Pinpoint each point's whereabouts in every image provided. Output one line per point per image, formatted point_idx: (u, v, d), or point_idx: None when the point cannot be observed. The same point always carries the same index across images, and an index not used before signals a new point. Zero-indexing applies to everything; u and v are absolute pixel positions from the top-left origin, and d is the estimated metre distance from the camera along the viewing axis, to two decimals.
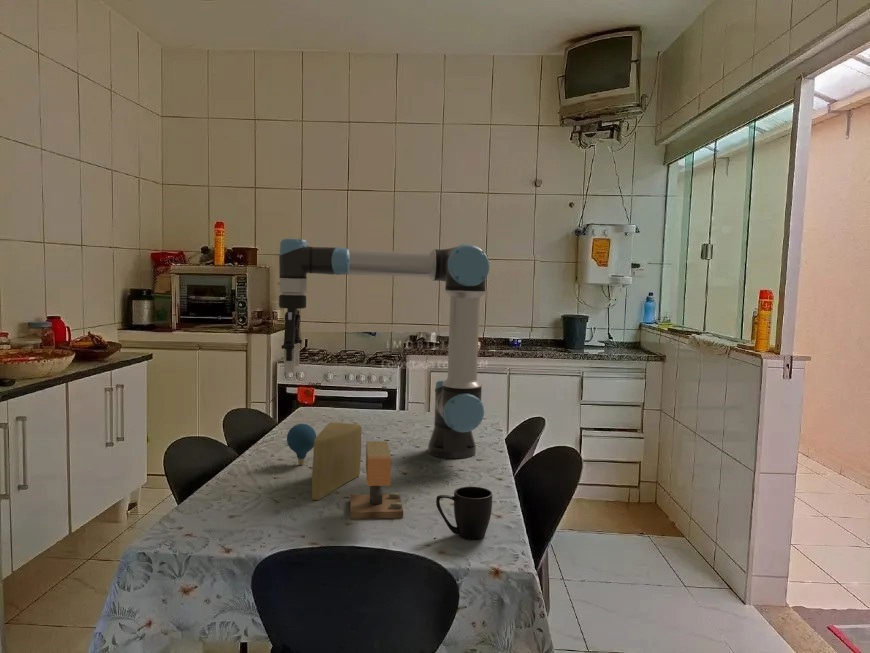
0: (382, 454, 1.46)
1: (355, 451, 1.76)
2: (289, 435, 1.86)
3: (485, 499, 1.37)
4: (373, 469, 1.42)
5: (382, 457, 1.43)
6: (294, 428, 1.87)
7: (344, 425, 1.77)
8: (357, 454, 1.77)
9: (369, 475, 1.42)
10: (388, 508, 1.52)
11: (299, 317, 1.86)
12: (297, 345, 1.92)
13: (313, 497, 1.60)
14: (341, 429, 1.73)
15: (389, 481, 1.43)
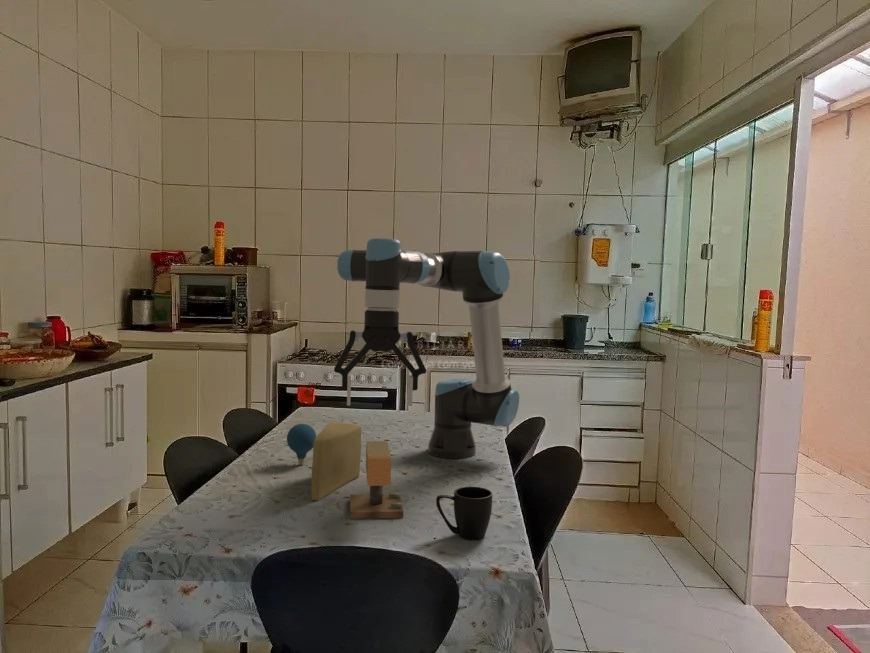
0: (382, 454, 1.46)
1: (354, 451, 1.75)
2: (289, 435, 1.86)
3: (485, 499, 1.37)
4: (373, 469, 1.42)
5: (382, 457, 1.43)
6: (294, 428, 1.87)
7: (344, 425, 1.77)
8: (357, 454, 1.77)
9: (369, 475, 1.42)
10: (388, 508, 1.52)
11: (384, 339, 1.43)
12: (409, 378, 1.46)
13: (312, 497, 1.60)
14: (340, 429, 1.73)
15: (389, 481, 1.43)
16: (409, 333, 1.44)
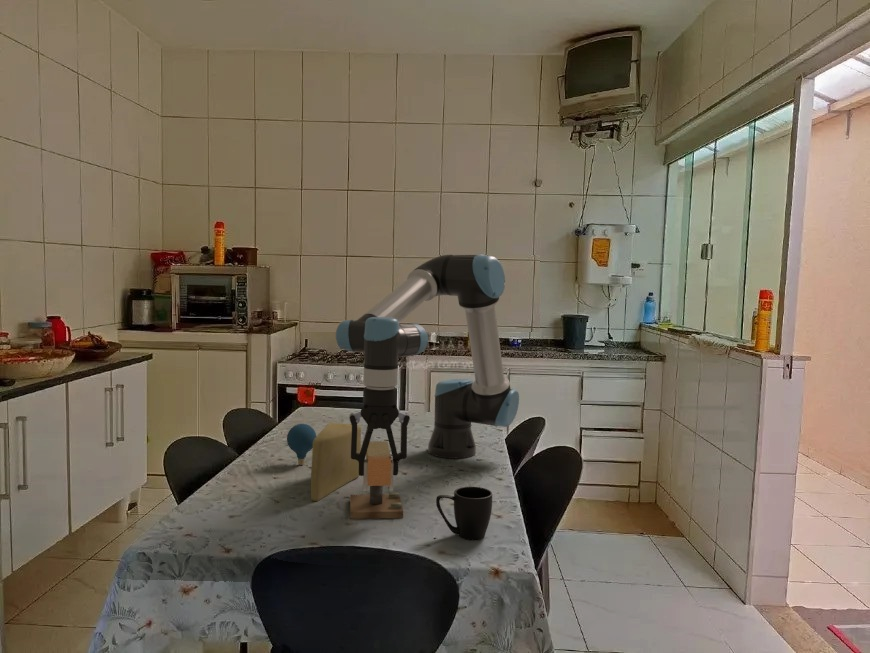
0: (382, 454, 1.46)
1: None
2: (289, 435, 1.86)
3: (485, 499, 1.37)
4: (373, 469, 1.42)
5: (382, 457, 1.43)
6: (294, 428, 1.87)
7: (343, 426, 1.76)
8: None
9: (369, 475, 1.42)
10: (388, 508, 1.52)
11: (383, 416, 1.44)
12: None
13: (312, 498, 1.59)
14: (340, 430, 1.73)
15: (389, 481, 1.43)
16: (407, 417, 1.46)
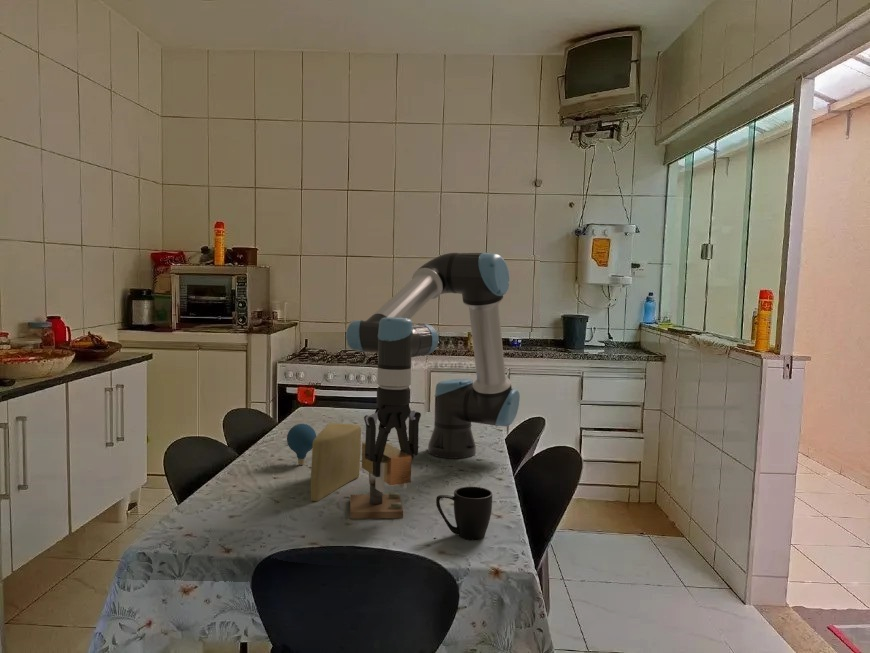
0: (397, 453, 1.47)
1: (354, 452, 1.75)
2: (289, 435, 1.86)
3: (485, 499, 1.37)
4: (396, 468, 1.44)
5: (402, 455, 1.45)
6: (294, 428, 1.87)
7: (343, 426, 1.76)
8: (356, 455, 1.76)
9: (392, 475, 1.43)
10: (388, 508, 1.52)
11: (399, 415, 1.46)
12: None
13: (312, 498, 1.59)
14: (340, 430, 1.72)
15: (409, 478, 1.46)
16: (419, 413, 1.50)
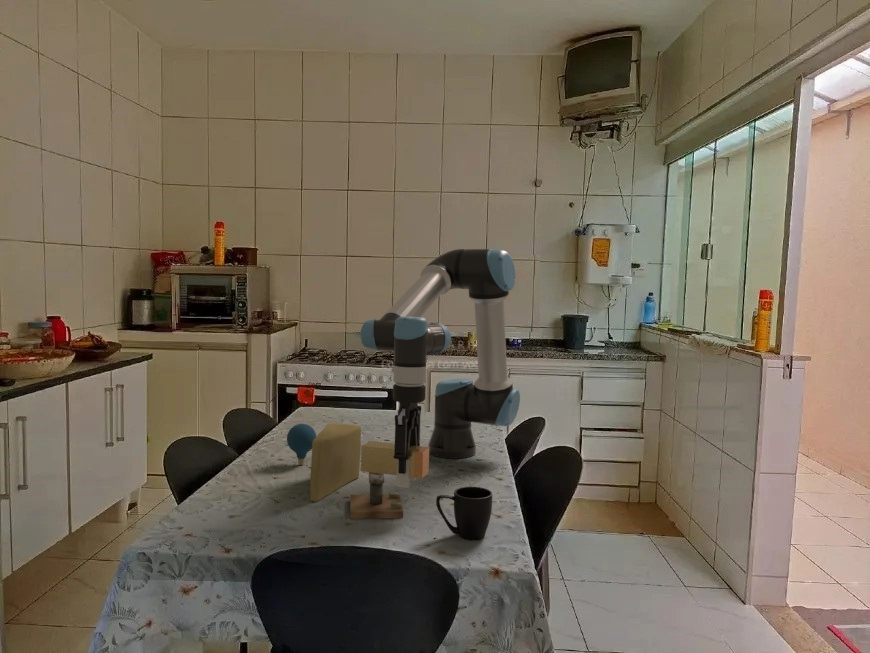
0: (413, 447, 1.53)
1: (354, 452, 1.74)
2: (289, 435, 1.86)
3: (485, 499, 1.37)
4: (424, 461, 1.50)
5: (423, 448, 1.52)
6: (294, 428, 1.87)
7: (343, 426, 1.76)
8: (356, 455, 1.76)
9: (423, 467, 1.49)
10: (388, 508, 1.52)
11: (417, 411, 1.52)
12: None
13: (311, 499, 1.59)
14: (340, 430, 1.72)
15: (428, 468, 1.53)
16: (420, 407, 1.57)
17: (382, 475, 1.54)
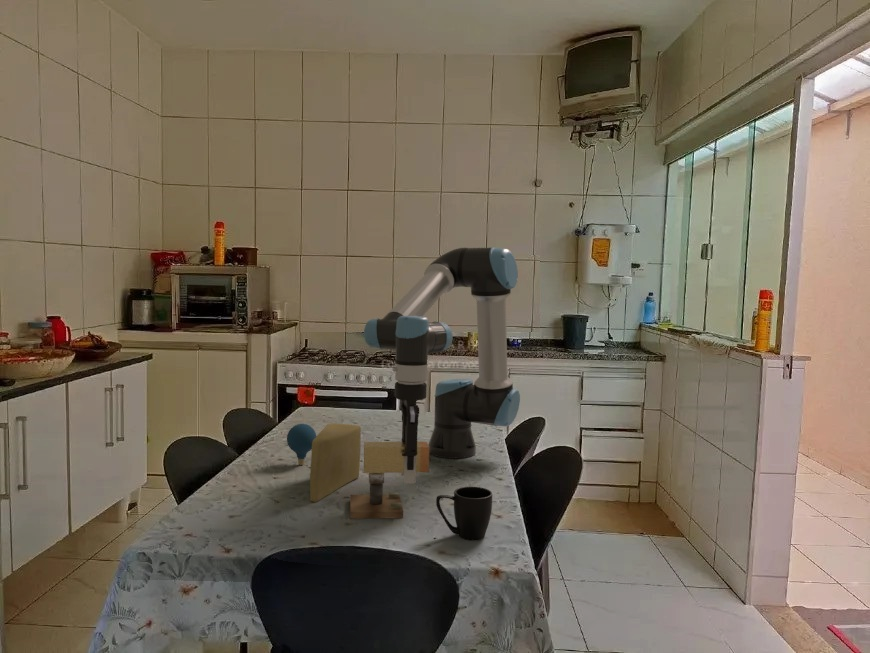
0: None
1: (354, 452, 1.74)
2: (289, 435, 1.86)
3: (485, 499, 1.37)
4: None
5: (423, 443, 1.56)
6: (294, 428, 1.87)
7: (343, 426, 1.76)
8: (356, 455, 1.76)
9: (428, 462, 1.54)
10: (388, 508, 1.52)
11: None
12: None
13: (311, 499, 1.59)
14: (339, 430, 1.72)
15: None
16: None
17: (383, 474, 1.54)
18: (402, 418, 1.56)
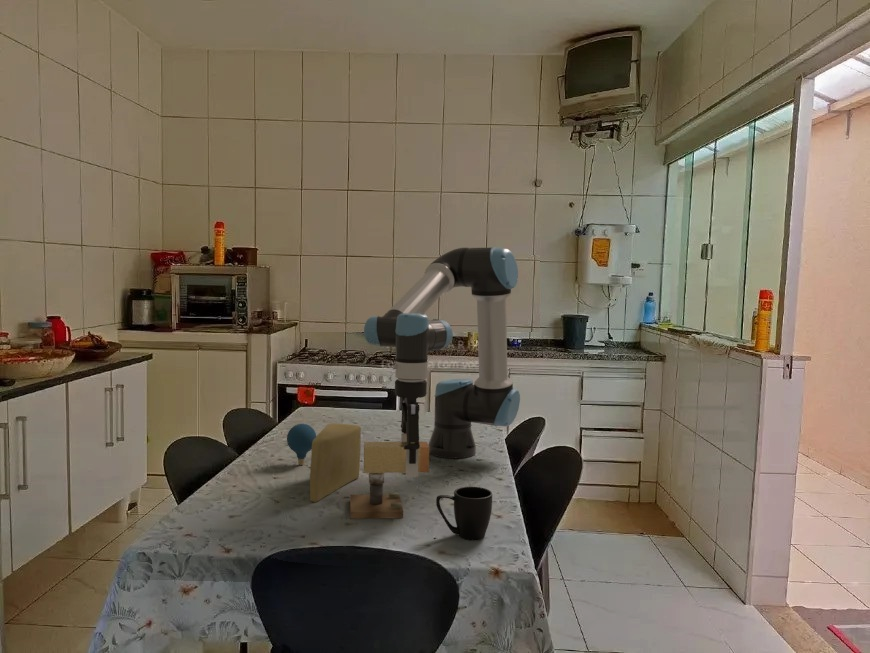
0: None
1: (354, 453, 1.74)
2: (289, 435, 1.86)
3: (485, 499, 1.37)
4: None
5: (423, 443, 1.56)
6: (294, 428, 1.87)
7: (343, 426, 1.76)
8: (356, 455, 1.76)
9: (428, 462, 1.54)
10: (388, 508, 1.52)
11: None
12: None
13: (311, 499, 1.59)
14: (339, 430, 1.72)
15: None
16: None
17: (383, 474, 1.54)
18: (402, 413, 1.57)
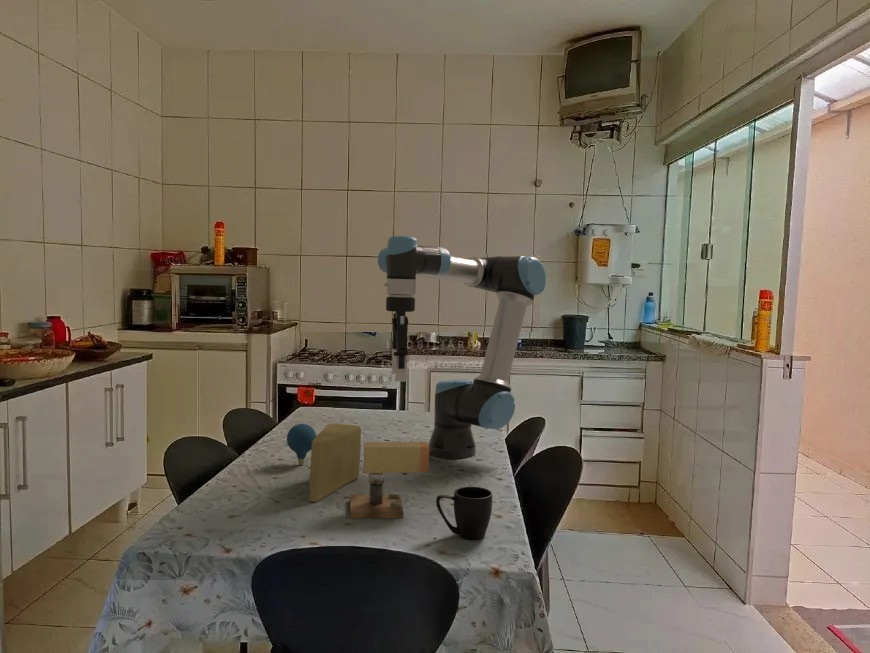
0: (413, 443, 1.56)
1: (354, 453, 1.74)
2: (289, 435, 1.86)
3: (485, 499, 1.37)
4: None
5: (423, 443, 1.56)
6: (294, 428, 1.87)
7: (343, 426, 1.75)
8: (356, 456, 1.75)
9: (428, 462, 1.54)
10: (388, 508, 1.52)
11: None
12: None
13: (311, 499, 1.58)
14: (340, 431, 1.72)
15: None
16: None
17: (383, 474, 1.54)
18: (392, 328, 1.73)
